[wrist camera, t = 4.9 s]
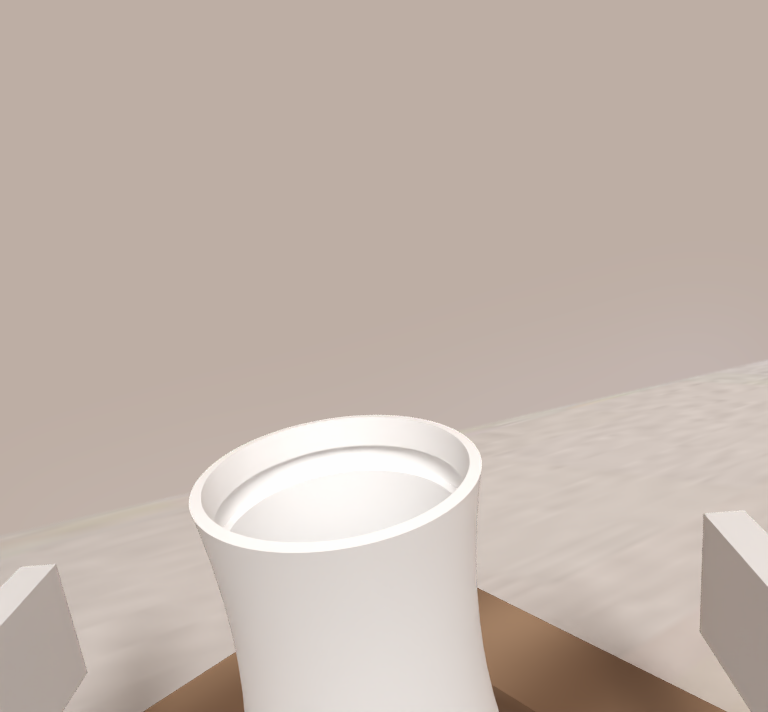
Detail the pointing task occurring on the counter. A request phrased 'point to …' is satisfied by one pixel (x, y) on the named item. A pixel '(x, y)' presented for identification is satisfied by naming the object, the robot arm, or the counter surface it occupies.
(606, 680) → the holder frame
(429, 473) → the vase
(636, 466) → the counter surface
